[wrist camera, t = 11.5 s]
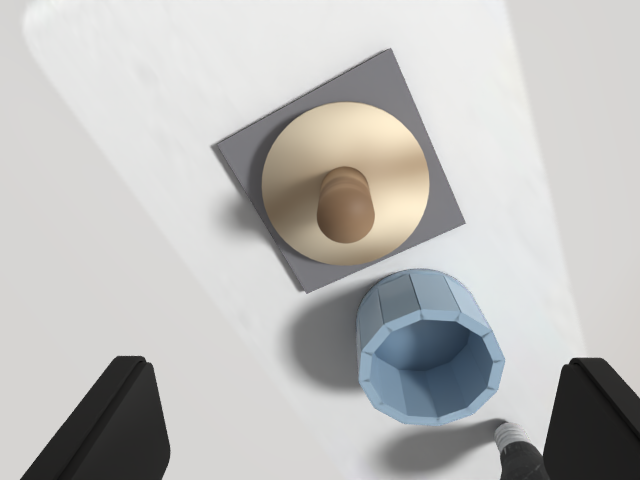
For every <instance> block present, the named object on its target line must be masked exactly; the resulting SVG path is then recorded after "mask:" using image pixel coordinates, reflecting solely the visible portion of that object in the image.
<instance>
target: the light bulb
mask: <svg viewBox="0 0 640 480" xmlns="http://www.w3.org/2000/svg"><path fill="white" fill-rule="evenodd" d="M494 438H495V442H496V445H497V447H498V450H499V451H500V460H501V465H502V474H501V478H500V480H550V478H549V476H548V474H547V472H546V469H545V466H544V461H543V456H542V455H541V454H540V452H539V451H538V450H537V449H536V447H535V446H533V445H532V444H531V441H530V440H529V437H528V436H527V434H526V432H525V431H524V429H523V428H522V427H521V426H520V425H518V424H516V423H503V424H502V425H501V426H499V427H498V428H497V429H496V430H495V433H494Z"/></svg>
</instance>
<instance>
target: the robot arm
mask: <svg viewBox="0 0 640 480" xmlns="http://www.w3.org/2000/svg"><path fill="white" fill-rule="evenodd" d="M169 459H170V444H169V439H168V435H167V430H166V425H165V421H164V416H163V411H162V406H161V401H160V397H159V392H158V387H157V383H156V378H155V373H154V368H153V365H152V364H151V363H149V362H146V360H145V358H144V357H142V356H117V357H116V358H114V359H113V361H112V362H111V363H110V365H109V366H108V367H107V368H106V370H105V371H104V372H103V374H102V375H101V376H100V377H99V379H98V380H97V381H96V383H95V384H94V385H93V386H92V388H91V389H90V390H89V392H88V393H87V394H86V395H85V397H84V398H83V399H82V401H81V402H80V403H79V405H78V406H77V407H76V408H75V410H74V411H73V412H72V414H71V415H70V416H69V417H68V419H67V420H66V421H65V422H64V424H63V425H62V426H61V427H60V429H59V430H58V431H57V433H56V434H55V435H54V436H53V438H52V439H51V440H50V441H49V443H48V444H47V445H46V447H45V448H44V449H43V451H42V452H41V453H40V455H39V456H38V457H37V458H36V460H35V461H34V462H33V464H32V465H31V466H30V467H29V469H28V470H27V471H26V472H25V474H24V475H23V477H22V478H21V479H20V480H162V477H163V475H164V473H165V470H166V468H167V466H168V463H169ZM543 461H544V466H545V469H546V472H547V474H548V476H549V478H550V480H640V398H639V397H638V396H637V395H636V394H635V392H634V391H633V390H632V389H631V388H630V387H629V386H628V385H627V384H626V382H624V380H623V379H622V378H621V377H620V376H619V375H618V374H617V372H616V371H615V370H614V369H613V368H612V367H611V366H610V365H609V364H608V363H607V361H605V360H604V359H602V358H573V359H571V361H570V363H569V364H566V365H564V366H563V367H562V370H561V374H560V379H559V383H558V388H557V393H556V397H555V402H554V406H553V411H552V415H551V420H550V424H549V429H548V433H547V438H546V443H545V447H544V452H543Z"/></svg>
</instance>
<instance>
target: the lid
mask: <svg viewBox="0 0 640 480" xmlns="http://www.w3.org/2000/svg"><path fill="white" fill-rule="evenodd" d="M428 195H429V171H428V167H427V162H426V159H425V156H424V154H423V151H422V149H421V147H420V145H419V144H418V142H417V140H416V139H415V138H414V136H413V135H412V133H411V132H410V131H409V130H408V129H407V128H406V127H405V126H404V125H403V124H402V123H401V122H400V121H399V120H397V119H396V118H395V117H394V116H392V115H391V114H389V113H387V112H386V111H384V110H382V109H380V108H377V107H375V106H372V105H369V104H365V103H361V102H352V101H339V102H332V103H327V104H323V105H320V106H317V107H315V108H312V109H310V110H308V111H306V112H305V113H303V114H301V115H300V116H298V117H297V118H296V119H294V120H293V121H292V122H291V123H290V124H289V125H288V126H287V127H286V128H285V129H284V130H283V131H282V132H281V134H280V135H279V136H278V138H277V139H276V140H275V142H274V143H273V145H272V147H271V149H270V151H269V153H268V155H267V158H266V161H265V164H264V169H263V174H262V197H263V201H264V206H265V209H266V212H267V215H268V217H269V219H270V221H271V223H272V225H273V227H274V228H275V229H276V231H277V232H278V234H279V235H280V236H281V237H282V238H283V239H284V241H285V242H286V243H288V244H289V245H290V246H291V247H292V248H293V249H295V250H296V251H298V252H299V253H301V254H303V255H305V256H307V257H308V258H310V259H313V260H316V261H319V262H322V263H326V264H331V265H340V266H344V265H358V264H363V263H367V262H371V261H374V260H376V259H379V258H381V257H383V256H385V255H387V254H389V253H390V252H392V251H393V250H395V249H396V248H398V247H399V246H400V245H401V244H402V243H403V242H405V241H406V240H407V238H408V237H409V236H410V235H411V234H412V233H413V231H414V230H415V228H416V227H417V225H418V224H419V222H420V220H421V218H422V216H423V214H424V211H425V208H426V205H427V200H428Z"/></svg>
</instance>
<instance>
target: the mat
mask: <svg viewBox="0 0 640 480" xmlns="http://www.w3.org/2000/svg"><path fill="white" fill-rule="evenodd" d="M339 101H352V102H361V103H365V104H369V105H372V106H375V107H377V108H380V109H382V110H384V111H386V112H387V113H389V114H391V115H392V116H394V117H395V118H396V119H397V120H399V121H400V122H401V123H402V124H403V125H404V126H405V127H406V128H407V129H408V130H409V131H410V132H411V133H412V135H413V136H414V138H415V139H416V140H417V142H418V144H419V145H420V147H421V149H422V151H423V154H424V156H425V159H426V162H427V167H428V171H429V195H428V200H427V205H426V208H425V211H424V214H423V216H422V218H421V220H420V222H419V224H418V225H417V227H416V228H415V230H414V231H413V233H412V234H411V235H410V236H409V237H408V238H407V240H406V241H405V242H403V243H402V244H401V245H400V246H399V247H398V248H396V249H395V250H393V251H392V252H390V253H389V254H387V255H385V256H383V257H381V258H379V259H376V260H374V261H371V262H367V263H363V264H358V265H344V266H340V265H331V264H326V263H322V262H319V261H316V260H313V259H310V258H308V257H307V256H305V255H303V254H301V253H299V252H298V251H296V250H295V249H293V248H292V247H291V246H290V245H289V244H288V243H286V242H285V241H284V239H283V238H282V237H281V236H280V235H279V234H278V232H277V231H276V229H275V228H274V227H273V225H272V223H271V221H270V219H269V217H268V215H267V212H266V209H265V206H264V201H263V197H262V174H263V169H264V164H265V161H266V158H267V155H268V153H269V151H270V149H271V147H272V145H273V143H274V142H275V140H276V139H277V138H278V136H279V135H280V134H281V132H282V131H283V130H284V129H285V128H286V127H287V126H288V125H289V124H290V123H291V122H292V121H293V120H294V119H296V118H297V117H298V116H300V115H301V114H303V113H305V112H306V111H308V110H310V109H312V108H315V107H317V106H320V105H323V104H327V103H332V102H339ZM217 146H218V147H219V149H220V151H221V152H222V154H223V156H224V157H225V159H226V161H227V162H228V164H229V166H230V167H231V169H232V171H233V172H234V174H235V176H236V177H237V179H238V181H239V182H240V184H241V185H242V187H243V189H244V190H245V192H246V194H247V195H248V197H249V199H250V200H251V202H252V204H253V205H254V207H255V209H256V210H257V212H258V214H259V215H260V217H261V219H262V220H263V222H264V224H265V225H266V227H267V229H268V230H269V232H270V234H271V235H272V237H273V239H274V240H275V242H276V244H277V245H278V247H279V249H280V250H281V252H282V254H283V255H284V257H285V259H286V260H287V262H288V264H289V265H290V267H291V269H292V270H293V272H294V274H295V275H296V277H297V279H298V280H299V282H300V284H301V285H302V287H303V289H304V290H305V292H306V294H308V293H310V292H312V291H314V290H317V289H319V288H321V287H323V286H326V285H328V284H330V283H332V282H335V281H337V280H339V279H341V278H344V277H346V276H348V275H351V274H353V273H355V272H357V271H360V270H362V269H364V268H366V267H369V266H371V265H373V264H375V263H378V262H380V261H382V260H384V259H387V258H389V257H391V256H393V255H396V254H398V253H400V252H402V251H405V250H407V249H409V248H411V247H414V246H416V245H418V244H420V243H423V242H425V241H427V240H429V239H432V238H434V237H436V236H438V235H441V234H443V233H445V232H448V231H450V230H452V229H454V228H457V227H459V226H461V225H463V224H466V223H465V220H464V218H463V216H462V213H461V211H460V209H459V206H458V204H457V202H456V199H455V197H454V194H453V192H452V190H451V187H450V185H449V183H448V180H447V178H446V176H445V173H444V171H443V169H442V166H441V164H440V162H439V159H438V157H437V155H436V152H435V150H434V147H433V145H432V143H431V140H430V138H429V136H428V133H427V131H426V129H425V126H424V124H423V122H422V119H421V117H420V115H419V112H418V110H417V108H416V105H415V103H414V101H413V98H412V96H411V93H410V91H409V89H408V86H407V84H406V82H405V79H404V77H403V75H402V72H401V70H400V68H399V65H398V63H397V61H396V58H395V56H394V54H393V51H392V49H391V48H390V49H388V50H386V51H384V52H383V53H381V54H379V55H377V56H375V57H374V58H372V59H370V60H368V61H366V62H365V63H363V64H361V65H359V66H357V67H355V68H354V69H352V70H350V71H348V72H346V73H345V74H343V75H341V76H339V77H337V78H336V79H334V80H332V81H330V82H328V83H327V84H325V85H323V86H321V87H319V88H318V89H316V90H314V91H312V92H310V93H309V94H307V95H305V96H303V97H301V98H300V99H298V100H296V101H294V102H292V103H290V104H289V105H287V106H285V107H283V108H281V109H280V110H278V111H276V112H274V113H272V114H271V115H269V116H267V117H265V118H263V119H262V120H260V121H258V122H256V123H254V124H253V125H251V126H249V127H247V128H245V129H244V130H242V131H240V132H238V133H236V134H235V135H233V136H231V137H229V138H227V139H226V140H224V141H222V142H220V143H218V144H217Z"/></svg>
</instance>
